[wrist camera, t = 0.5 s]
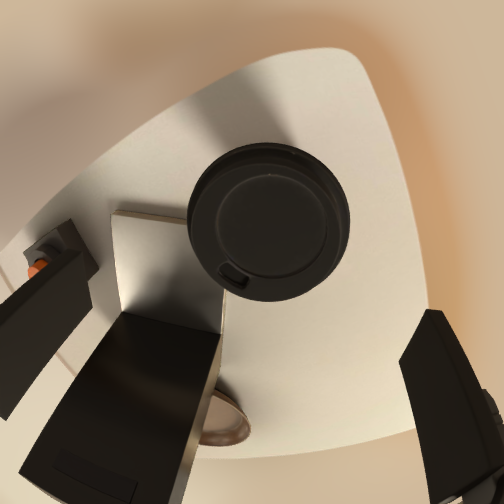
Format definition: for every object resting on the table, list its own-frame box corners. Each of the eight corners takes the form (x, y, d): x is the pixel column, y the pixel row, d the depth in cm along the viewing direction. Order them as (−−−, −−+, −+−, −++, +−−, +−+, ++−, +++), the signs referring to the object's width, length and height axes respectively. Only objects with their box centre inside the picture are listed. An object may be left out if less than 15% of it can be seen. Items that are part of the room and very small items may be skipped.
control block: (70, 218, 34) (47, 233, 30) (99, 269, 37) (80, 288, 33) (35, 243, 37) (15, 258, 33) (61, 286, 40) (43, 304, 36)
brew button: (45, 255, 32) (35, 263, 30) (59, 279, 33) (50, 287, 31) (33, 263, 33) (24, 271, 31) (46, 285, 34) (38, 293, 32)
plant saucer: (182, 435, 55) (178, 448, 52) (120, 375, 48) (113, 388, 45) (271, 429, 49) (270, 444, 46) (216, 360, 41) (211, 377, 39)
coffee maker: (116, 209, 33) (-72, 377, 8) (232, 226, 32) (103, 508, 7) (133, 345, 43) (51, 497, 18) (220, 366, 42) (168, 548, 17)
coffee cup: (225, 213, 31) (175, 295, 18) (237, 122, 27) (182, 135, 14) (316, 229, 31) (329, 324, 17) (335, 139, 26) (377, 169, 13)
